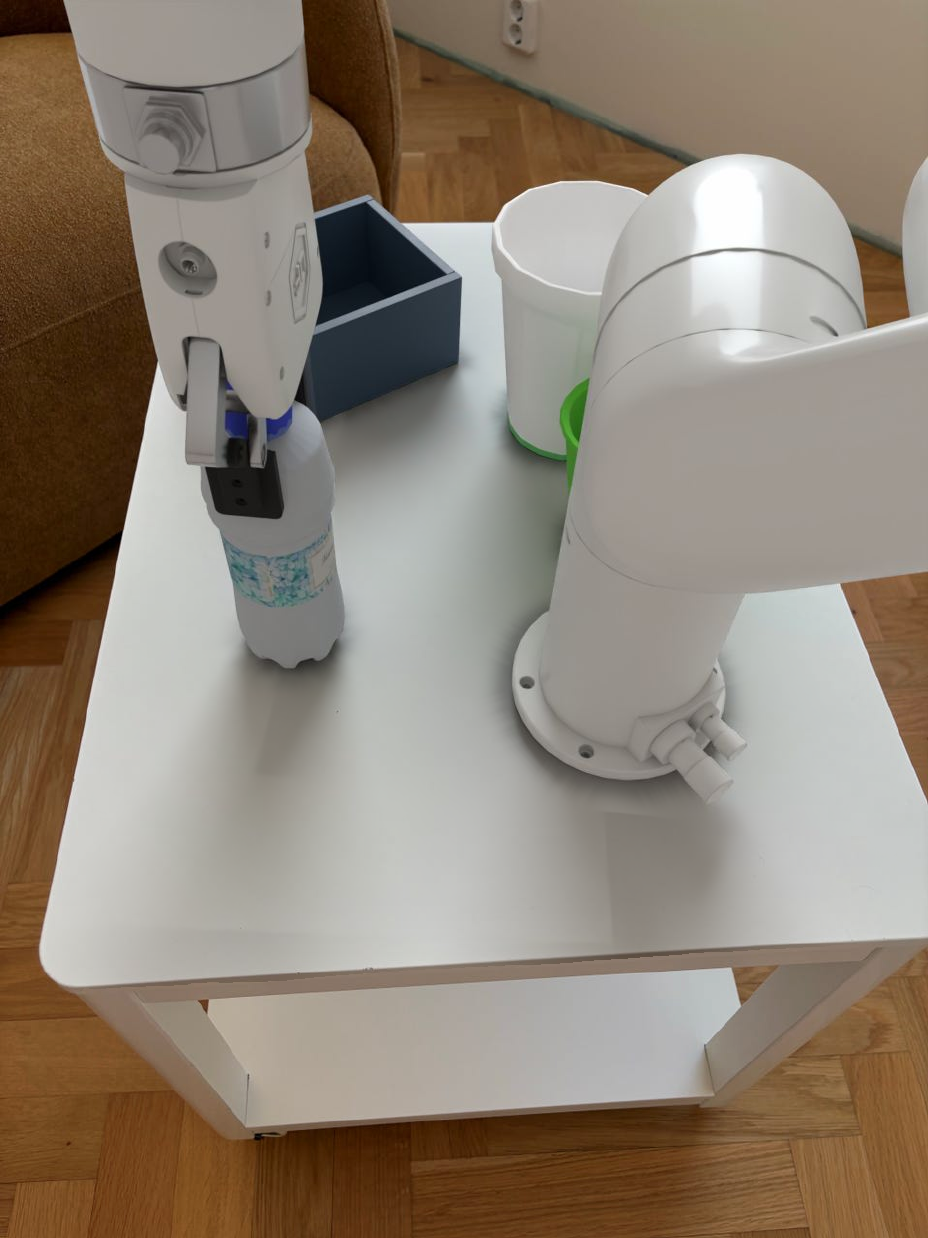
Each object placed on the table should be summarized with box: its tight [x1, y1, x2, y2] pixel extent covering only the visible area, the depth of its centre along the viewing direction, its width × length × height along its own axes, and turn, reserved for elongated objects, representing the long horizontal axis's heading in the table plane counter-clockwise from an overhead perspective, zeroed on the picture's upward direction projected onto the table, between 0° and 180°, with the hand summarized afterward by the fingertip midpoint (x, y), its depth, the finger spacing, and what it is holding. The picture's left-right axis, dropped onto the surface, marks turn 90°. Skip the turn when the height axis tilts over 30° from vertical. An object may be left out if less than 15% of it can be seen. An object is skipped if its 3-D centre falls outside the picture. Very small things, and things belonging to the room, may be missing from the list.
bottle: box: [199, 380, 346, 669], centre depth 53 cm, size 7×7×20 cm
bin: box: [304, 194, 463, 423], centre depth 75 cm, size 13×13×8 cm
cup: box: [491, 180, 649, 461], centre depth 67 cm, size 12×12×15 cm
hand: (264, 459), depth 49 cm, fingers closed on bottle, 6 cm apart
